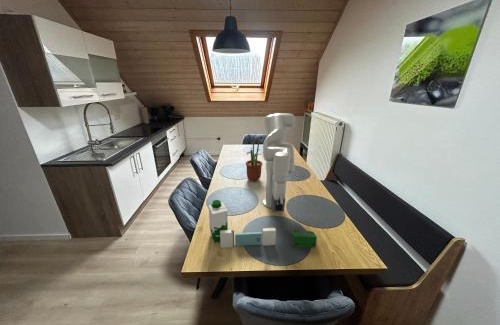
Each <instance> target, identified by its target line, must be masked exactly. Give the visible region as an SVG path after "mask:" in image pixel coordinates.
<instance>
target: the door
mask: <svg viewBox="0 0 500 325" xmlns="http://www.w3.org/2000/svg"><path fill="white" fill-rule="evenodd" d="M262 232H263V231H251V232H250V231H248V232H234V247H239V246H240V247H241V246H245V247H246V246H257V245H258V246H260V245H262Z"/></svg>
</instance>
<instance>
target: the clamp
mask: <svg viewBox="0 0 500 325" xmlns="http://www.w3.org/2000/svg"><path fill="white" fill-rule="evenodd" d="M291 235H292V244H293V247H295V248H316V246H317V239H318V236H317V235H316V233H315V232H314V231H313V230H312V231H311V230H307V231H306V233H301V232H299V230H292V234H291Z"/></svg>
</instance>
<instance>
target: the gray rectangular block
mask: <svg viewBox="0 0 500 325" xmlns="http://www.w3.org/2000/svg"><path fill="white" fill-rule="evenodd" d="M278 202H280V200H278ZM276 204H277V200H275V199H274V196H273V194H272V203H271V208H270V209H271V211H272V213H279V212H280V213H281V212H283V213H284V212H285V206H286V198H285V199H284V200H283V205H282V211H276Z"/></svg>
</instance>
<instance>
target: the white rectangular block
mask: <svg viewBox="0 0 500 325" xmlns="http://www.w3.org/2000/svg"><path fill="white" fill-rule="evenodd" d="M261 232H262V240H261V245H262V247H263V246H275V245H276V234H277V230H276V227H267V228H266V227H265V228H264V227H263V228H262V231H261ZM219 242H220V244H219V245H220V248H221V249H222V248H223V249H225V248H233V247H235V230H234V229H228V230H221V231H220V241H219Z"/></svg>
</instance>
